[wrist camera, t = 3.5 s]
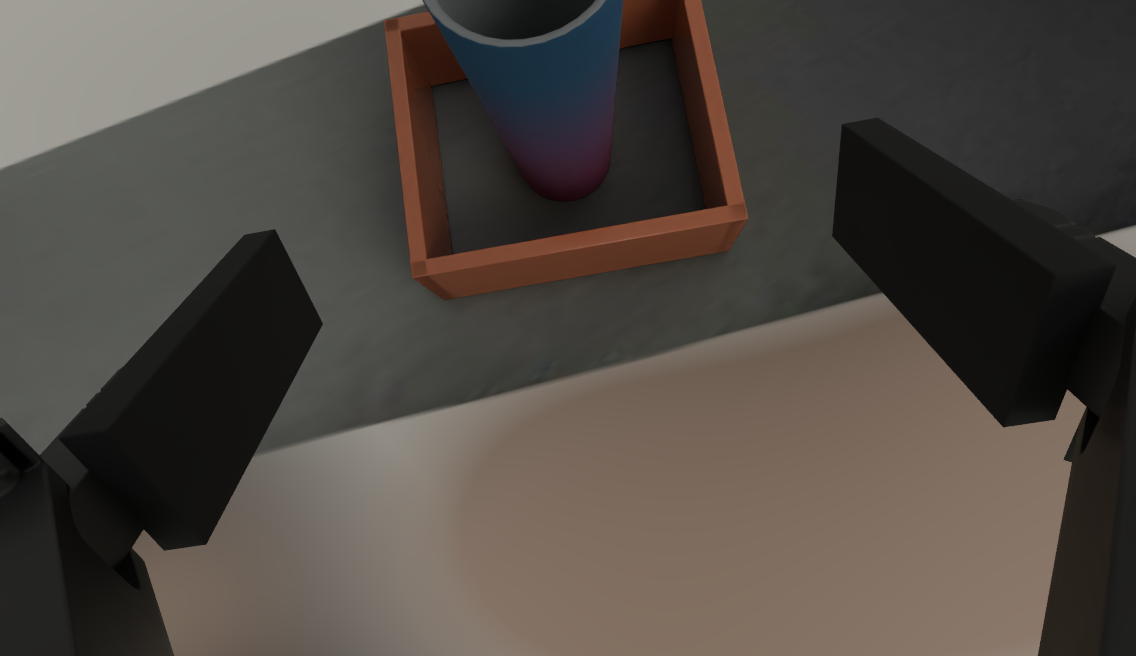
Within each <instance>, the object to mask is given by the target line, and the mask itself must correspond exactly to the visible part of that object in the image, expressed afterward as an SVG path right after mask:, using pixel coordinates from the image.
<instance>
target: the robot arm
mask: <svg viewBox="0 0 1136 656" xmlns="http://www.w3.org/2000/svg"><path fill="white" fill-rule="evenodd" d="M832 236H833V237H834V239H835V240H836V241H837V242H838V243H839V244H840V245H841V246H842V248H843V249H844V250H845V251H846V252H847V253H848V254H849V255H850V256H851V258H852V259H853V260H854V261H855V262H856V263H857V264H858V265H859V267H860V268H861V269H862V270H863V271H864V272H865V273H866V274H867V275H868V277H869V278H870V279H871V280H872V281H873V282H874V283H875V284H876V286H877V287H878V288H879V289H880V290H881V291H882V292H883V293H884V294H885V296H886V297H887V298H888V299H889V300H890V301H891V302H892V303H893V305H894V306H895V307H896V308H897V309H898V310H899V311H900V312H901V313H902V314H903V316H904V317H905V318H906V319H907V320H908V321H909V322H910V323H911V325H912V326H913V327H914V328H915V329H916V330H917V331H918V332H919V334H920V335H921V336H922V337H923V338H924V339H925V340H926V341H927V343H928V344H929V345H930V346H931V347H932V348H933V349H934V350H935V351H936V352H937V354H938V355H939V356H940V357H941V358H942V359H943V360H944V361H945V362H946V364H947V365H948V366H949V367H950V368H951V369H952V371H953V372H954V373H955V374H956V375H957V376H958V377H959V378H960V379H961V381H962V382H963V383H964V384H965V385H966V386H967V387H968V388H969V390H971V392H972V393H973V394H974V395H975V396H976V397H977V398H978V400H980V402H981V403H982V404H983V405H984V406H985V407H986V409H987V410H988V411H989V412H990V413H991V414H992V415H993V416H994V418H995V419H996V420H997V421H998V422H999V423H1000V424H1001V425H1002V426H1003V427H1008V426H1015V425H1022V424H1028V423H1036V422H1042V421H1049V420H1055V418H1056V415H1057V413H1058V410H1059V408H1060V405H1061V403H1062V400H1063V398H1064V396H1065V393H1066V391H1067V389H1068V390H1069V391H1070V392H1071V393H1072V394H1073V395H1074V396H1076V397H1077V398H1078V399H1079V400H1080V401H1081V402H1082V403H1083V404H1084V405H1085V406H1087V407H1086V410H1085V412H1084V414H1083V416H1082V419H1081V421H1080V423H1079V426H1078V428H1077V430H1076V433H1075V435H1074V437H1073V439H1072V442H1071V444H1070V446H1069V448H1068V451H1067V453H1066V455H1065V457H1064V460H1066V461H1069V462H1072V466H1071V472H1070V477H1069V483H1068V489H1067V494H1066V500H1065V506H1064V511H1063V517H1062V523H1061V528H1060V534H1059V540H1058V545H1057V551H1056V556H1055V562H1054V568H1053V574H1052V579H1051V585H1050V591H1049V596H1048V602H1047V607H1046V613H1045V619H1044V624H1043V630H1042V636H1041V641H1040V647H1039V652H1038V656H1136V258H1135V257H1133V256H1132V255H1130V254H1128V253H1126V252H1125V251H1123V250H1121V249H1119V248H1118V247H1116V246H1114V245H1113V244H1111V243H1109V242H1108V241H1106V240H1104V239H1103V238H1101V237H1097V238H1095V234H1094V233H1092V232H1091V231H1089V230H1087V229H1085V228H1084V227H1082V226H1076V225H1075V222H1073V221H1072V220H1070V219H1068V218H1067V217H1065V216H1063V215H1061V214H1060V213H1058V212H1056V211H1055V210H1053V209H1050V208H1047V207H1044V206H1040V205H1037V204H1034V203H1031V202H1027V201H1024V200H1021V199H1018V200H1010V199H1009V198H1007V197H1006V196H1004V195H1002V194H1001V193H999V192H997V191H996V190H994V189H993V188H991V187H989V186H988V185H986V184H984V183H983V182H981V181H980V180H978V179H976V178H975V177H973V176H971V175H970V174H968V173H967V172H965V171H963V170H962V169H960V168H958V167H957V166H955V165H954V164H952V163H950V162H949V161H947V160H945V159H944V158H942V157H941V156H939V155H937V154H936V153H934V152H932V151H931V150H929V149H928V148H926V147H924V146H923V145H921V144H919V143H918V142H916V141H915V140H913V139H911V138H910V137H908V136H906V135H905V134H903V133H902V132H900V131H898V130H897V129H895V128H893V127H892V126H890V125H889V124H887V123H885V122H884V121H882V120H880V119H879V118H873V119H868V120H862V121H857V122H852V123H846V124H842V129H841V141H840V153H839V164H838V176H837V187H836V199H835V211H834V222H833V234H832ZM322 325H323V323H322V321H321V319H320V317H319V315H318V313H317V311H316V309H315V307H314V305H313V303H312V301H311V299H310V297H309V295H308V293H307V291H306V289H305V287H304V285H303V283H302V281H301V280H300V278H299V276H298V274H297V272H296V270H295V268H294V266H293V264H292V262H291V260H290V258H289V256H288V254H287V252H286V250H285V248H284V246H283V244H282V242H281V240H280V238H279V236H278V234H277V232H276V230H275V229H274V230H268V231H263V232H258V233H252V234H247V235H244V236H243V237H242V238H241V239H240V240H239V241H238V242H237V243H236V245H235V246H234V247H233V248H232V249H231V250H230V251H229V252H228V253H227V254H226V255H225V257H224V258H223V259H222V260H221V261H220V262H219V263H218V264H217V265H216V266H215V267H214V269H213V270H212V271H211V272H210V273H209V274H208V275H207V276H206V277H205V278H204V279H203V281H202V282H201V283H200V284H199V285H198V286H197V287H196V288H195V289H194V290H193V291H192V293H191V294H190V295H189V296H188V297H187V298H186V299H185V300H184V301H183V302H182V303H181V305H180V306H179V307H178V308H177V309H176V310H175V311H174V312H173V313H172V314H171V315H170V317H169V318H168V319H167V320H166V321H165V322H164V323H163V324H162V325H161V326H160V327H159V329H158V330H157V331H156V332H155V333H154V334H153V335H152V336H151V337H150V338H149V339H148V340H147V342H146V343H145V344H144V345H143V346H142V347H141V348H140V349H139V350H138V351H137V352H136V354H135V355H134V356H133V357H132V358H131V359H130V360H129V361H128V362H127V363H126V364H125V366H124V367H122V368H121V369H120V370H118V371H117V372H116V373H115V374H114V375H113V377H112V378H111V379H110V380H109V381H108V382H107V383H106V384H105V385H104V386H103V387H102V388H101V392H100V393H97V394H96V395H95V396H94V397H93V398H92V399H91V400H90V402H89V403H88V404H87V407H86V408H85V409H82V410H81V411H80V412H79V413H78V415H77V416H76V417H75V418H74V419H73V420H72V421H71V422H70V423H69V424H68V425H67V426H66V428H65V429H64V430H63V431H62V432H61V433H60V434H59V435H58V436H57V437H56V438H55V439H54V441H53V442H52V443H51V444H50V445H49V446H48V447H47V448H46V449H45V450H44V451H43V453H42V454H41V455H40V456H39V455H38V454H37V453H36V452H35V451H34V450H33V448H32V447H31V446H30V445H29V444H28V443H27V442H26V441H25V440H24V439H23V438H22V437H21V436H20V435H19V434H18V433H17V432H16V431H15V430H14V429H13V428H12V427H11V426H10V425H9V424H8V423H7V422H6V421H5V420H4V419H3V418H0V656H174V654H173V651H172V648H171V645H170V641H169V638H168V635H167V632H166V629H165V626H164V622H163V619H162V616H161V613H160V610H159V606H158V603H157V600H156V597H155V594H154V591H153V588H152V584H151V581H150V578H149V575H148V572H147V568H146V565H145V562H144V561H143V559H142V558H141V557H140V556H139V555H138V554H137V553H136V552H135V551H134V550H133V549H132V546H133V545H134V543H135V542H136V540H137V539H138V537H139V535H140V534H141V532H142V531H143V529H144V530H145V531H146V532H147V533H148V534H149V535H150V536H151V537H152V538H153V539H154V540H155V541H156V542H157V544H158V545H159V546H160V547H161V548H162V549H163V550H172V549H178V548H185V547H191V546H199V545H206V544H207V542H208V540H209V538H210V536H211V534H212V532H213V531H214V529H215V527H216V525H217V523H218V521H219V519H220V517H221V515H222V514H223V511H224V510H225V508H226V506H227V504H228V502H229V500H230V498H231V496H232V495H233V493H234V491H235V489H236V487H237V485H238V483H239V481H240V479H241V478H242V475H243V474H244V472H245V470H246V468H247V466H248V464H249V462H250V461H251V459H252V457H253V455H254V453H255V451H256V449H257V447H258V446H259V444H260V442H261V440H262V438H263V436H264V434H265V432H266V430H267V429H268V427H269V425H270V423H271V421H272V419H273V417H274V415H275V413H276V412H277V410H278V408H279V406H280V404H281V402H282V400H283V398H284V396H285V395H286V393H287V391H288V389H289V387H290V385H291V383H292V381H293V379H294V378H295V376H296V374H297V372H298V370H299V368H300V366H301V364H302V362H303V361H304V359H305V357H306V355H307V353H308V351H309V349H310V347H311V345H312V344H313V342H314V340H315V338H316V336H317V334H318V332H319V330H320V328H321V327H322Z"/></svg>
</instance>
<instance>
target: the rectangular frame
mask: <svg viewBox="0 0 1136 656" xmlns="http://www.w3.org/2000/svg"><path fill="white" fill-rule="evenodd" d="M384 27H385V36H386V45H387V54H388V63H389V72H390V81H391V90H392V99H393V108H394V117H395V126H396V135H397V144H398V153H399V163H400V172H401V181H402V190H403V199H404V208H405V217H406V226H407V235H408V244H409V253H410V262H411V263H410V264H411V273H412V278H413V279H415V280H416V281H417V282H419V283H420V284H422V285H423V286H425V287H426V288H427V289H429V290H430V291H432V292H433V293H435V294H436V295H438V296H439V297H440V298H442V299H443V300H448V299H453V298H459V297H465V296H471V295H476V294H482V293H488V292H494V291H499V290H505V289H511V288H517V287H523V286H528V285H534V284H540V283H546V282H551V281H557V280H563V279H569V278H574V277H580V276H586V275H592V274H597V273H603V272H609V271H615V270H620V269H626V268H632V267H638V266H644V265H649V264H655V263H661V262H667V261H672V260H678V259H684V258H690V257H695V256H701V255H707V254H713V253H718V252H724V251H729V250H730V249H731V247H732V245H733V243H734V242H735V240H736V238H737V237H738V235H739V233H740V232H741V230H742V228H743V227H744V225H745V223H746V221H747V220H748V214H747V210H746V205H745V200H744V196H743V191H742V187H741V182H740V177H739V173H738V168H737V164H736V159H735V154H734V150H733V145H732V140H731V136H730V131H729V127H728V122H727V117H726V113H725V108H724V104H723V99H722V94H721V90H720V85H719V81H718V76H717V71H716V67H715V62H714V57H713V53H712V48H711V44H710V39H709V34H708V30H707V25H706V21H705V16H704V11H703V7H702V2H701V0H623V10H622V23H621V35H620V47H619V49H620V48H625V47H630V46H635V45H640V44H645V43H650V42H655V41H660V40H665V39H670V38H671V42H672V47H673V51H674V56H675V61H676V66H677V71H678V76H679V81H680V86H681V91H682V96H683V100H684V105H685V110H686V115H687V120H688V125H689V130H690V135H691V140H692V145H693V149H694V154H695V159H696V164H697V169H698V174H699V179H700V184H701V189H702V194H703V198H704V203H705V208H706V209H704V210H699V211H693V212H687V213H682V214H676V215H671V216H665V217H659V218H654V219H648V220H643V221H637V222H632V223H626V224H620V225H615V226H609V227H604V228H598V229H592V230H587V231H581V232H576V233H570V234H564V235H559V236H553V237H548V238H542V239H536V240H531V241H525V242H520V243H514V244H508V245H503V246H497V247H492V248H486V249H480V250H475V251H469V252H464V253H458V254H452V247H451V239H450V231H449V223H448V215H447V206H446V198H445V190H444V182H443V174H442V166H441V158H440V150H439V142H438V134H437V125H436V117H435V109H434V101H433V93H432V86H434V85H439V84H444V83H449V82H454V81H459V80H464V79H467V77H466V75H465V73H464V72H463V70H462V68H461V67H460V65H459V63H458V61H457V60H456V58H455V56H454V54H453V53H452V51H451V49H450V47H449V46H448V44H447V42H446V40H445V39H444V37H443V35H442V33H441V32H440V30H439V28H438V26H437V25H436V23H435V21H434V20H433V18H432V16H431V14H430V13H429V11H428V12H423V13H418V14H413V15H409V16H404V17H399V18H393V19H389V20H385V21H384Z"/></svg>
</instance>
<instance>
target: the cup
mask: <svg viewBox="0 0 1136 656" xmlns="http://www.w3.org/2000/svg"><path fill="white" fill-rule="evenodd" d="M423 2H424V4H425V6H426V7H427V9H428V11H429V13H430V14H431V16H432V18H433V20H434V21H435V23H436V25H437V26H438V28H439V30H440V32H441V33H442V35H443V37H444V39H445V40H446V42H447V44H448V46H449V47H450V49H451V51H452V53H453V54H454V56H455V58H456V60H457V61H458V63H459V65H460V67H461V68H462V70H463V72H464V73H465V75H466V77H467V79H468V80H469V82H470V84H471V86H472V87H473V89H474V91H475V93H476V94H477V96H478V98H479V100H480V101H481V103H482V105H483V107H484V108H485V110H486V112H487V114H488V115H489V117H490V119H491V121H492V122H493V124H494V126H495V127H496V129H497V131H498V133H499V134H500V136H501V138H502V140H503V141H504V143H505V145H506V147H507V148H508V150H509V152H510V154H511V155H512V157H513V159H514V161H515V162H516V164H517V166H518V168H519V169H520V171H521V173H522V174H523V176H524V178H525V180H526V181H527V183H528V184H529V186H530V187H531V188H532V189H533V190H534V191H535V192H536V193H538V194H539V195H541V196H542V197H545V198H547V199H550V200H554V201H573V200H578V199H580V198H583V197H585V196H587V195H588V194H590V193H592V192H593V191H594V190H595V189H596V188H597V187H599V185H600V184H601V183H602V181H603V180H604V179H605V176H606V174H607V172H608V169H609V165H610V157H611V145H612V132H613V120H614V108H615V96H616V84H617V71H618V59H619V47H620V35H621V23H622V10H623V0H423Z"/></svg>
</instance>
